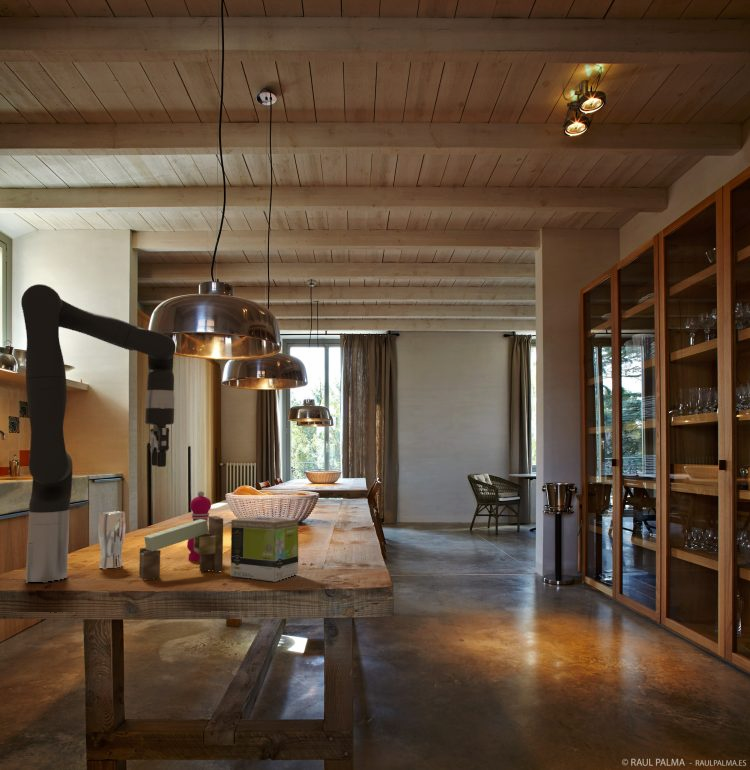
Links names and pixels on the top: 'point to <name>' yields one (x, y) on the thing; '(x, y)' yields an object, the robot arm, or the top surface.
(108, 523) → the beer glass
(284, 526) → the tea box
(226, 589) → the top surface
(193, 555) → the pepper mill
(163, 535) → the rail
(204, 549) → the cup bracket
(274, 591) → the top surface
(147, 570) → the block
